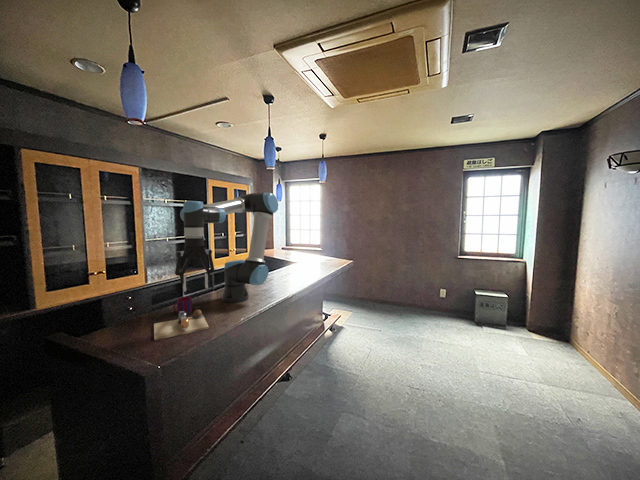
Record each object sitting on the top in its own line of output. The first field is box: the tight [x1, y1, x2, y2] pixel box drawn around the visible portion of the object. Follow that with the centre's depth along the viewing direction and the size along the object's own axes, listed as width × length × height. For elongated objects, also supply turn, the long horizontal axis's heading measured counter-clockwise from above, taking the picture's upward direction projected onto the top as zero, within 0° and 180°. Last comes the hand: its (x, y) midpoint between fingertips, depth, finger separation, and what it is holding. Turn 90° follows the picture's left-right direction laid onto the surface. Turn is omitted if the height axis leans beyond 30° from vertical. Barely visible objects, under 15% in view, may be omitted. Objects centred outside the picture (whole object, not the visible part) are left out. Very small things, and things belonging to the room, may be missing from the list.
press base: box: [153, 309, 210, 341], centre depth 112 cm, size 20×16×5 cm
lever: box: [178, 311, 189, 329], centre depth 113 cm, size 3×16×4 cm, turn 33°
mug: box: [172, 296, 193, 314], centre depth 129 cm, size 7×10×7 cm
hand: (195, 289), depth 111 cm, fingers open, 8 cm apart
